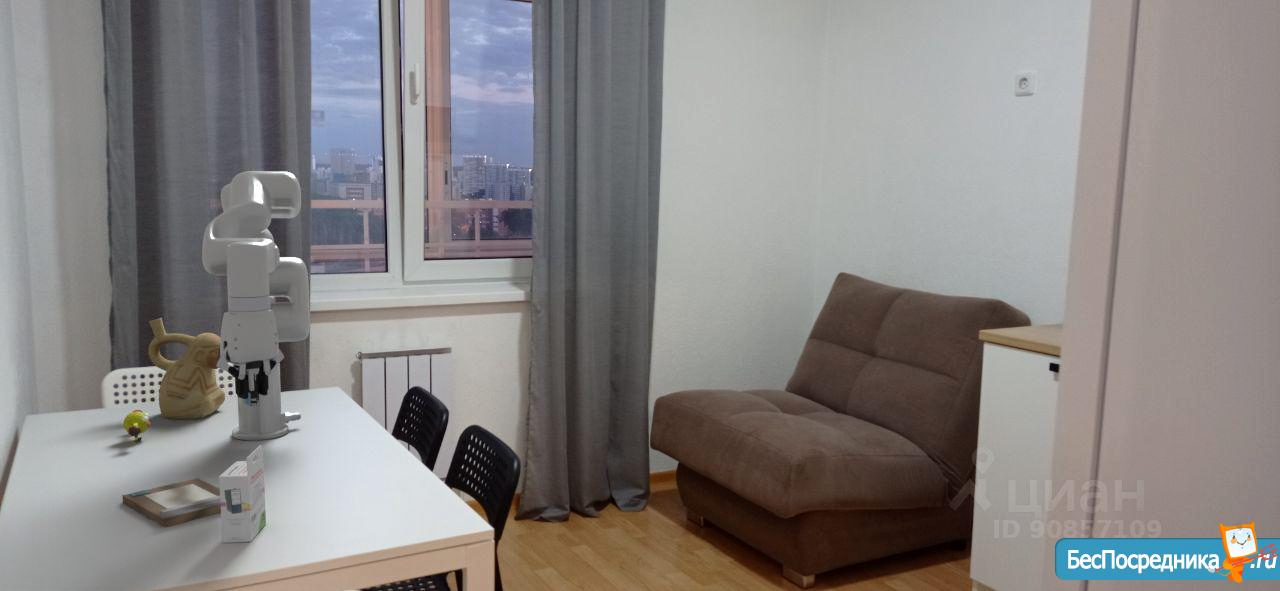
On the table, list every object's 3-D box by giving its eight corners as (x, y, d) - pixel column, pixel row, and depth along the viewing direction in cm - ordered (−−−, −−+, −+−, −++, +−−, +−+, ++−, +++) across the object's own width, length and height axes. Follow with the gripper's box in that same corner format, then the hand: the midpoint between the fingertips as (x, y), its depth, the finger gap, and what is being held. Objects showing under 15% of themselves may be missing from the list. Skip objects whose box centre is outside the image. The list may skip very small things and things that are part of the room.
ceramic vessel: (212, 422, 231) (208, 324, 228) (134, 421, 232) (129, 322, 229) (242, 406, 248) (238, 314, 245) (169, 405, 248) (165, 313, 245)
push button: (268, 406, 183) (266, 356, 181) (239, 409, 180) (237, 359, 178) (262, 399, 188) (260, 350, 187) (234, 402, 185) (232, 353, 184)
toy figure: (150, 449, 208) (148, 419, 208) (122, 451, 206) (120, 422, 205) (152, 429, 224) (151, 402, 224) (126, 431, 222) (125, 404, 221)
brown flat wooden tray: (198, 485, 184) (197, 472, 184) (241, 506, 173) (241, 492, 173) (122, 503, 174) (122, 489, 174) (164, 527, 162) (163, 512, 162)
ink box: (238, 524, 164) (234, 443, 162) (266, 524, 164) (264, 443, 163) (220, 543, 155) (216, 458, 154) (250, 543, 156) (247, 458, 154)
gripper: (278, 299, 190) (281, 386, 193) (198, 306, 178) (202, 400, 180) (298, 302, 185) (300, 392, 188) (216, 310, 173) (220, 406, 175)
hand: (252, 395), depth 184 cm, fingers closed on push button, 3 cm apart
